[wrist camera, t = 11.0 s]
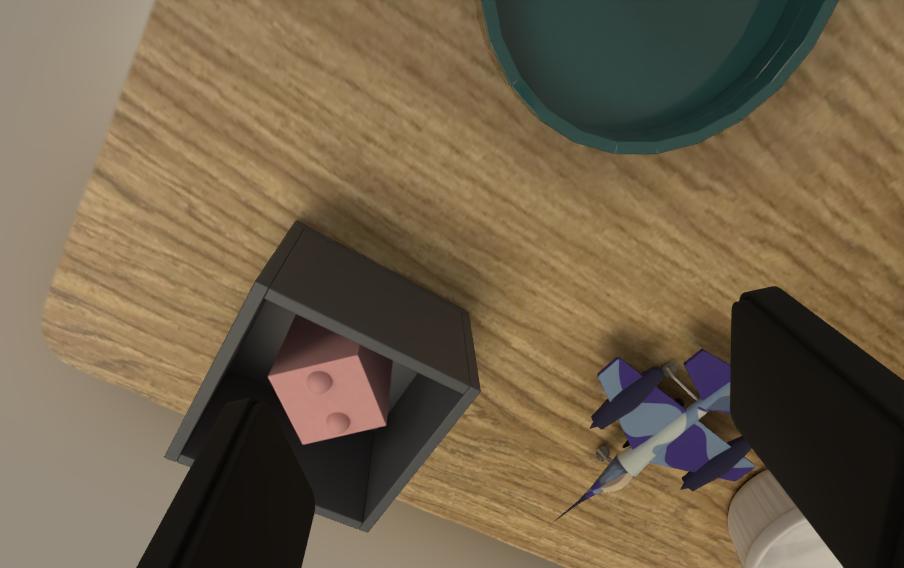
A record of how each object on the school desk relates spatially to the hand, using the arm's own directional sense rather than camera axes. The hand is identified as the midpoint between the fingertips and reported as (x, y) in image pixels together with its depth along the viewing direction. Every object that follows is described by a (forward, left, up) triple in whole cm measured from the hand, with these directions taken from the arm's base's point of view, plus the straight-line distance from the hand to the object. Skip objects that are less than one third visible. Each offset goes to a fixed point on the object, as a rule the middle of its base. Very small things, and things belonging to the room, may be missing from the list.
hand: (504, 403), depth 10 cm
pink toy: (+8, -9, -18) cm, 22 cm away
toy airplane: (+19, +8, -19) cm, 28 cm away
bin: (+8, -9, -19) cm, 22 cm away
